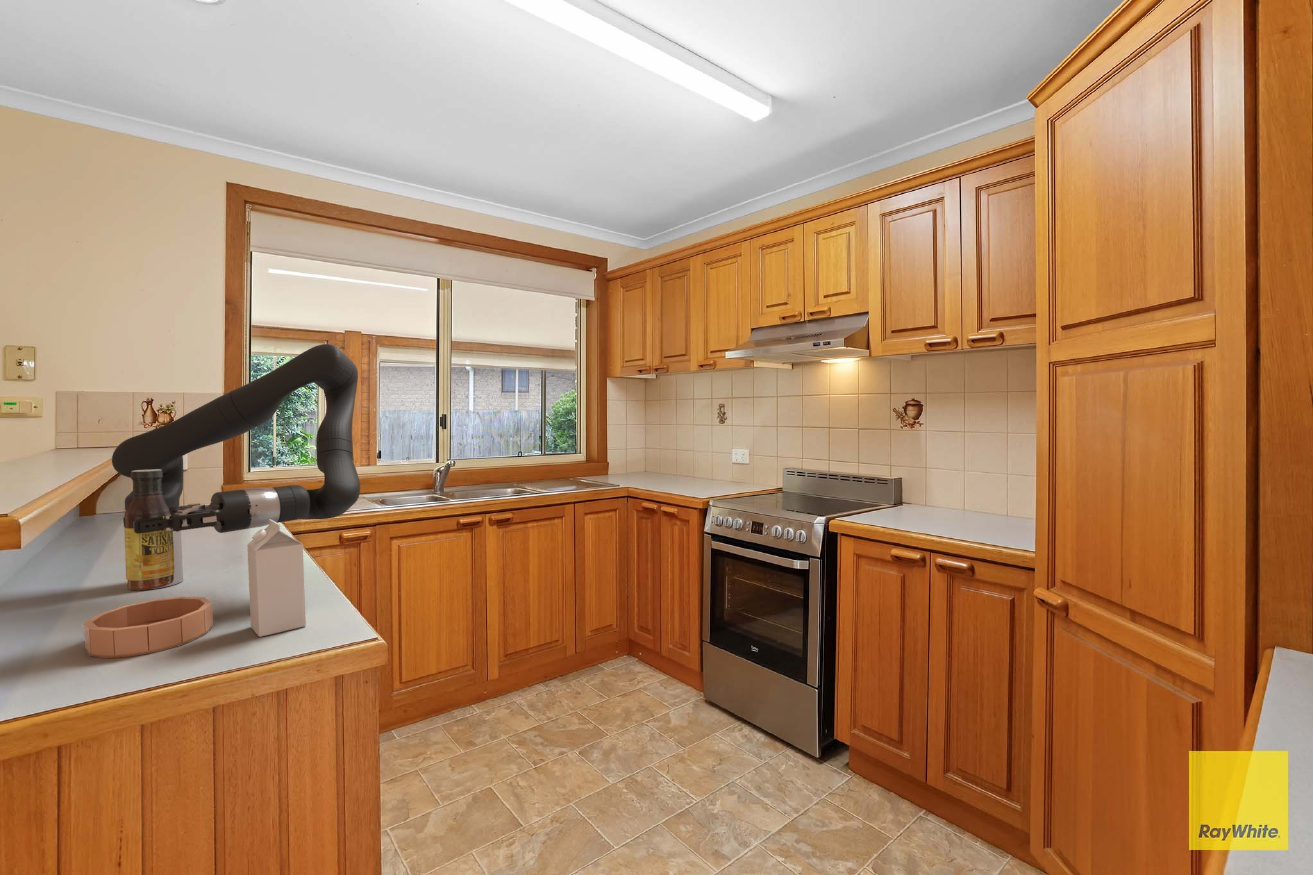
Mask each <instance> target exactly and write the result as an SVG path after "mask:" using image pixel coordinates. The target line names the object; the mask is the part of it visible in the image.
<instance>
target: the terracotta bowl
mask: <svg viewBox="0 0 1313 875" xmlns="http://www.w3.org/2000/svg"><path fill="white" fill-rule="evenodd" d="M213 616H214V615H213V601H211V600H209V599H208V598H206V597H200V596H177V597H168V598H167V597H165V598H158V599H152V600H147V601H142V602H137V603H133V604H127V605H123V606H120V607H117V608H114V609H110V610H107V611H104V612H102V613H99V614H96V615H94V616H93V617H91V618H90V619H88V620H87V621H85V622H84V623H83V630H84V645H85V646H84V647H85V649H86V651H87V652H86V653H87V654H88V656H91V657H94V658H98V659H118V658H119V659H121V658H128V657H129V658H131V657H135V656H137V657H138V656H142V655H143V656H144V655H148V654H153V653H158V652H162V651H166V650H169V649H173V648H172V647H174V648H176V646H177V647H179V646H178V645H180V646H182V645H185V644H189V643H191V642H193V641H195V639H196V640H197V638H198V639H199V638H202V637H204V636H205V635H207V634H209V632H210V631H211V630H210V629H212V626H213V625H214V618H213ZM208 631H209V632H208ZM206 633H207V634H206ZM203 635H204V636H203ZM201 636H202V637H201ZM188 642H189V643H188Z"/></svg>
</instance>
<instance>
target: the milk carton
mask: <svg viewBox="0 0 1313 875" xmlns="http://www.w3.org/2000/svg"><path fill="white" fill-rule="evenodd" d="M280 526H281V525H280V523H276V522H274V521H273V520H271V519H269V525H267V526H266V527H265V528H264V529H263V528H262V529H259V530H257V531H256V532H254V534H253V535H252V537H251V538H252V539H251V541H249V542H248V544H247V566H248V569H247V570H248V571H247V572H248V590H249V612H250V614H249V616H250V627H251V629H252V630H253V631H254V632H255V633H256V635H257V636H258V637H259V638H260V637H265V636H269V635H274V634H279V633H283V632H287V631H290V630H291V631H292V630H295V629H299V628H304V627H306V626H307V617H306V614H307V612H306V589H305V587H306V586H305V565H304V564H305V562H304V544H303V543H302V542H300V541H299V540H297V539H295V538H293V537H292V536H290V535H288V534H286V533H285V532H283V531H281V527H280Z"/></svg>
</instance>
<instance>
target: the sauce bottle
mask: <svg viewBox="0 0 1313 875" xmlns="http://www.w3.org/2000/svg"><path fill="white" fill-rule="evenodd" d="M162 477H163V474H162V470H161V469H152V470H136V471H131V478H130V479H131V480H132V491H133V500H132V501H131V502H130V504H129V505H128V506H127V509H126V511H125V510H124V516H125V527H124V526H123V529H124V551H125V552H124V553H125V554H124V556H125V561H124V562H125V577H126V578H125V580H127V583H126V584H127V585H126V586H127V589H128V590H129V591H138V592H139V591H145V590H147V589H148V590H155V589H154V588H156V589H160V588H159V587H162V588H164V587H163V586H166V585H168V584H171V583H172V582H173V580H174V573H175V572H174V547H173V530H172V531H165V528H164V530H160V531H153V532H146V533H140V534H137V533H135V532H134V529H133V522H134V521H135V520H139V519H147V518H154V517H163V519H164V516H166V515H171V513H170V511H169V509H168V507H167V504H166V503H165V500H164V497H163V492H162V484H161V480H162Z"/></svg>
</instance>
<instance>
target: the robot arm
mask: <svg viewBox="0 0 1313 875" xmlns="http://www.w3.org/2000/svg"><path fill="white" fill-rule="evenodd" d="M358 371H359V370H358V368H357V366H356V364H355V363H354V362H353V361H352V360H351V359H350V358H349V357H348V356H347V355H346V354H345V353H344V352H343V351H342V350H340V349H339V348H338V347H337V346H335V344H334V345H333V344H331V343H330V344H329V343H323V344H318V345H315V346H312V347H311V348H309V349H306V350H305V351H303V352H302V353H300V354H298V355H297V356H294V357H293V358H292V359H289V361H287V362H285V363H284V364H282V365H280V366H278V367H277V368H275V369H273V370H272V371H269V372H267V373H266V374H263V375H262V376H260V377H257V378H256V379H254V380H252V381H250V382H248V383H246V384H244V385H242V386H240V387H238V388H235V389H233V390H231V391H229V392H226V393H225V394H223V395H220V396H219V397H216V398H214V399H213V400H211V401H209V402H207V403H204V404H203V405H201V406H199V407H198V408H195V409H192V410H191V411H190V412H188V413H186V414H184V415H183V416H181V417H179V418H176V419H175V420H173V421H172V422H168V423H167V424H165V425H161V426H160V427H157V428H154V429H152V430H149V431H146V432H144V433H143V432H142V433H140V434H138V435H135V436H132V437H128V438H127V439H125V440H124V441H122V442H121V443H119V444H118V445H117V446H116V448H115V449H114V451H113V453H112V456H111V464H112V467H113V469H114V470H115V471H116V472H117V473H118V474H120V475H122V476H123V477H126V478H130V479H131V471H136V470H152V469H161V470H162V474H163V477H162V480H161V484H162V492H163V497H164V500H165V503H166V504H167V507H168V509H169V511H170V513H171V515H166V516H164V519H163V517H154V518H147V519H139V520H135V521H134V522H133V529H134V532H135V533H137V534H140V533H146V532H153V531H160V530H164V528H165V531H172V530H173V547H174V572H175V573H174V580H173V582H172V583H171V584H168V585H166V586H163V587H159V588H158V589H160V588H165V587H171V586H175V585H177V584H180V583H182V582H183V581H184V570H183V569H184V568H183V567H184V566H183V545H182V531H187V530H195V529H202V528H210V527H212V528H214V530H215V531H216V532H217V533H220V534H223V533H224V534H225V533H230V532H237V531H243V530H250V529H256V528H262V527H267V526H269V519H271V520H273V521H274V522H276V523H278V524H280V523H285V522H291V521H295V520H328V519H334V518H337V517H340V516H342V515H343V514H345V513H346V512H347V511H348V510H350V509H351V507H352V506H354V505H355V504H356V503H357V501H358V500H359V498H360V494H361V483H360V482H361V481H360V477H359V475H358V472H357V467H356V466H355V462H354V444H353V418H354V409H355V401H356V394H357V388H358V380H359V379H358V378H359V372H358ZM313 383H314V385H316V386H317V387H319V388H320V389H321V390H322V391H323V394H324V399H325V404H326V412H325V415H324V417H323V418H322V421H321V422H320V425H319V427H318V430H317V432H316V437H315V439H316V440H315V443H316V444H315V446H316V449H315V450H316V454H315V455H316V464H317V465H316V467H317V468H318V470H319V471H320V472H322V473H323V476H324V480H323V484H322V486H321V487H318V488H313V489H307V488H305V486H303V485H299V484H298V485H297V484H292V485H281V486H273V487H253V488H252V487H251V488H243V489H235V490H226V491H217V492H214V493H213V495H212V496H211V499H210V504H208V505H205V504H201V503H200V502H199V503H189V504H186V505H180V504H181V503H180V501H181V500H180V499H181V496H182V494H183V491H184V456H185V455H187V454H189V453H191V452H193V451H197V450H199V449H200V450H201V449H203V448H205V447H208V446H209V447H210V446H213V445H215V444H219V443H222V442H225V441H227V440H230V439H233V438H236V437H239V436H241V435H243V434H245V433H247V432H250V431H252V430H253V429H255V428H258V427H260V426H262V425H264V424H265V423H267V422H268V421H269V420H270V419H272V417H273V416H274V415H275V414H276V412H277V411H278V409H279V408H280V406H281V405H282V403H283V401H284V400H286V398H287V397H288V396H289V395H291V394H293V393H294V392H295V391H297V390H299V389H301V388H303V387H305V386H307V385H309V384H313ZM132 500H133V490H131V492H130V493H129V494H128V495H127V496H126V497H125V499H124V512H125V511H126V509H127V506H128V505H129V504H130V502H131V501H132ZM122 520H123V522H122V523H123V528H124V527H125V515H124V516H123V518H122ZM155 589H157V588H154V589H153V590H155ZM147 590H149V589H147Z"/></svg>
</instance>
